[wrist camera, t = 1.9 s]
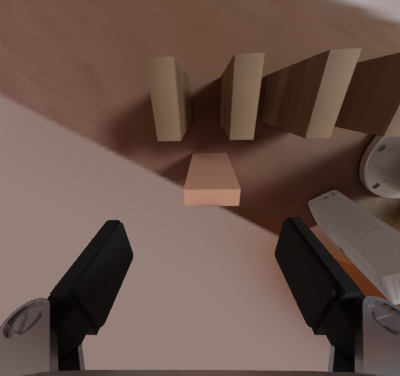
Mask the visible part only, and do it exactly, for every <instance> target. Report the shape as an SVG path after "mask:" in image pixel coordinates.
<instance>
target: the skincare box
mask: <svg viewBox="0 0 400 376" xmlns="http://www.w3.org/2000/svg"><path fill="white" fill-rule="evenodd" d="M308 205H309V208H310V211H311V213H312V215H313V217H314V219H315V221H316V223H317V224H318V226H319V227H320V228H321V229H322V230H323V231H324V232H325V233H326V234H327V235H328V237H329V238H330V239H331V240H332V241H333V242H334V243H335V244H336V245H337V246H338V247H339V248H340V249H341V250H342V252H343V253H344V254H345V255H346V256H347V257H348V258H349V259H350V260H351V261H352V262H353V263H354V264H355V265H356V266H357V267H358V269H359V270H360V271H361V272H362V273H363V274H364V275H365V276H366V277H367V278H368V279H369V280H370V281H371V282H372V283H373V284H374V285H375V286H376V287H377V288H378V289H379V290H380V292H381V293H382V294H383V295H384V296H385V297H386V298H387V299H388V300H389V301H390V302H391V303H392V304H394V305H395V304H400V233H399V232H398V231H396V230H395V229H394V228H392V227H391V226H389V225H388V224H386V223H385V222H383V221H382V220H380V219H379V218H377V217H376V216H374V215H373V214H371V213H370V212H368V211H367V210H365V209H364V208H363V207H361V206H359V205H358V204H357V203H355V202H354V201H352V200H351V199H349V198H348V197H346V196H345V195H343V194H342V193H340V192H339V191H337V190H332V191H329V192H327V193H324V194H322V195H320V196H318V197H316V198H314V199H312V200H310V201H308Z"/></svg>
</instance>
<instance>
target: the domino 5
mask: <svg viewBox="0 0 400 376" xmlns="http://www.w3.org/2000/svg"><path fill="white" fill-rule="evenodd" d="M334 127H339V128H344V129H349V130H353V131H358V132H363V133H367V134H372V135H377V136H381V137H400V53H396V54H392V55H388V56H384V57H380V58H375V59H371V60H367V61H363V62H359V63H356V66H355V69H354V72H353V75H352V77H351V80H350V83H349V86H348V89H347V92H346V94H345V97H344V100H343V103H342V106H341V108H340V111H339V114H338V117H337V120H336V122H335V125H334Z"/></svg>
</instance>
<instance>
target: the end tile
mask: <svg viewBox="0 0 400 376" xmlns="http://www.w3.org/2000/svg"><path fill="white" fill-rule="evenodd" d="M240 191H241V189H240V186H239V184H238V181H237V178H236V176H235V173H234V170H233V168H232V165H231V162H230V160H229V157H228V154H227V153H193V155H192V159H191V162H190V166H189V170H188V174H187V178H186V182H185V186H184V202H185V206H239V200H240Z"/></svg>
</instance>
